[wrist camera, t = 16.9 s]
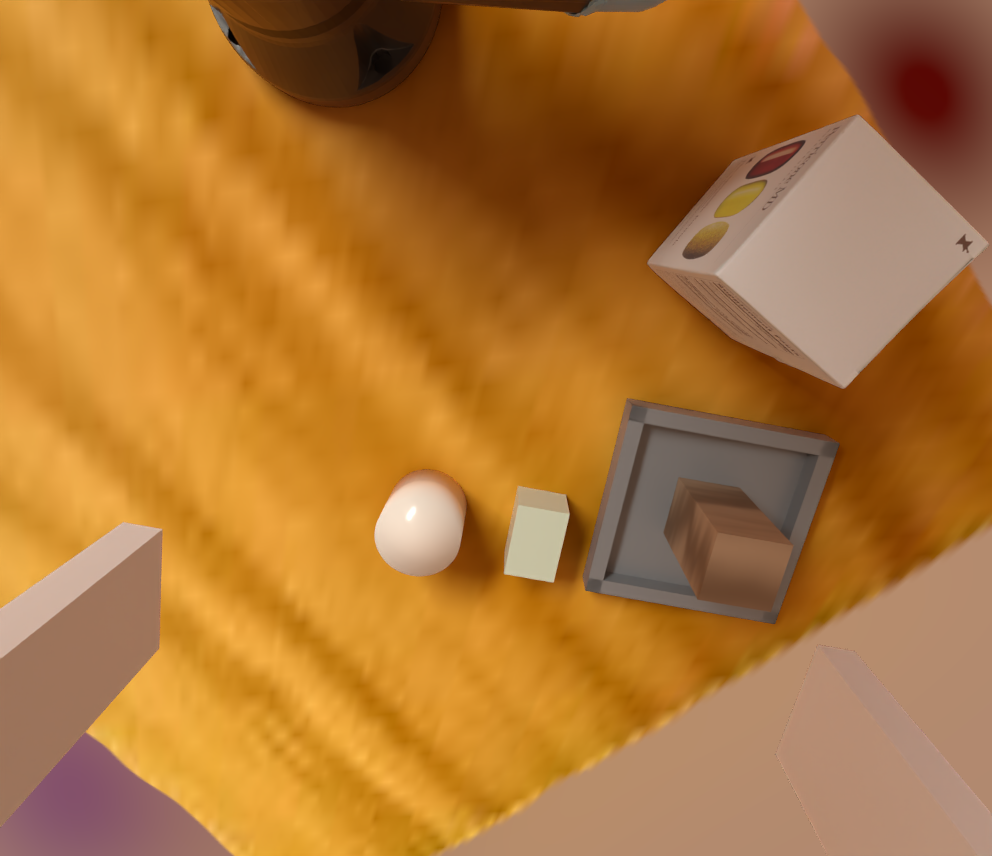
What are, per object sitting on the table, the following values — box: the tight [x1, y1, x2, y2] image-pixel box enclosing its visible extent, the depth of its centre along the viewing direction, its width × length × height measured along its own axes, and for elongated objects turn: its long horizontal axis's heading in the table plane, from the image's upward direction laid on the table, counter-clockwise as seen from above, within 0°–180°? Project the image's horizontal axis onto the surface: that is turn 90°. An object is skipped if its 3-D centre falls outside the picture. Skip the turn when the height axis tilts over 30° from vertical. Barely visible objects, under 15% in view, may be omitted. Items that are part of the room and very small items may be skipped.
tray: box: [583, 398, 840, 624], centre depth 50 cm, size 16×16×2 cm
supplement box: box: [647, 115, 989, 389], centre depth 37 cm, size 10×9×17 cm
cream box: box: [504, 486, 570, 583], centre depth 50 cm, size 6×4×4 cm, turn 170°
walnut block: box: [663, 477, 794, 612], centre depth 45 cm, size 5×5×10 cm
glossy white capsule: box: [375, 469, 467, 576], centre depth 49 cm, size 6×6×6 cm
